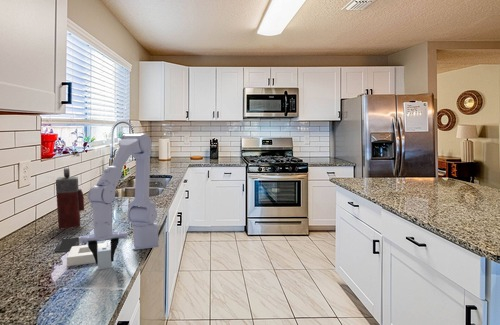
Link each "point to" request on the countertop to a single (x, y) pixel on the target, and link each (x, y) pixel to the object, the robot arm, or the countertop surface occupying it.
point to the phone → (66, 244)
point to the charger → (104, 257)
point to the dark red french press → (69, 200)
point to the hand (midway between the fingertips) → (104, 261)
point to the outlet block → (82, 255)
